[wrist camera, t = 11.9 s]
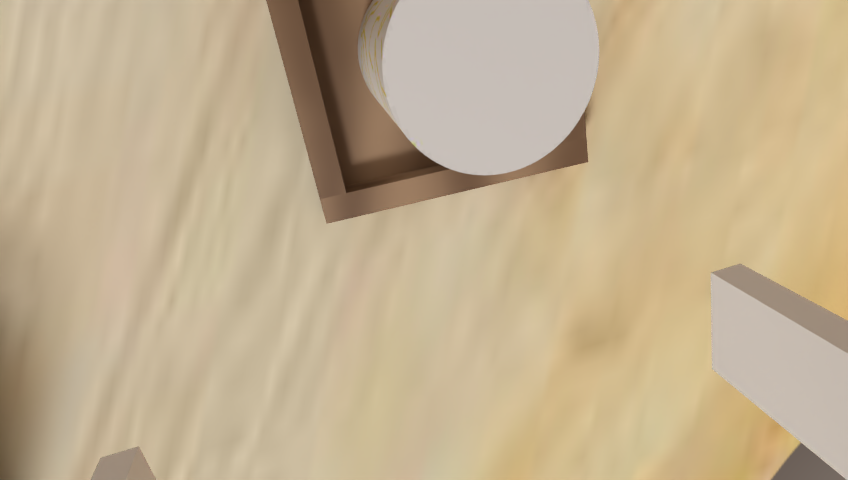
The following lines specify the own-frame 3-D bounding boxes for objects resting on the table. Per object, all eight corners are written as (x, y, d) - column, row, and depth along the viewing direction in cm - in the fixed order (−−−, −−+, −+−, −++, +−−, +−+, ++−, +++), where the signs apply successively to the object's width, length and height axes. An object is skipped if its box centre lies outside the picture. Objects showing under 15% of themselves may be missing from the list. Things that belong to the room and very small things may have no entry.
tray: (325, 210, 35) (326, 223, 32) (247, -83, 29) (241, -92, 26) (570, 153, 36) (588, 161, 34) (546, -137, 30) (565, -149, 28)
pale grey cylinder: (352, -30, 29) (375, -60, 18) (502, -32, 31) (609, -61, 20) (362, 127, 32) (387, 182, 21) (499, 119, 34) (589, 167, 23)
